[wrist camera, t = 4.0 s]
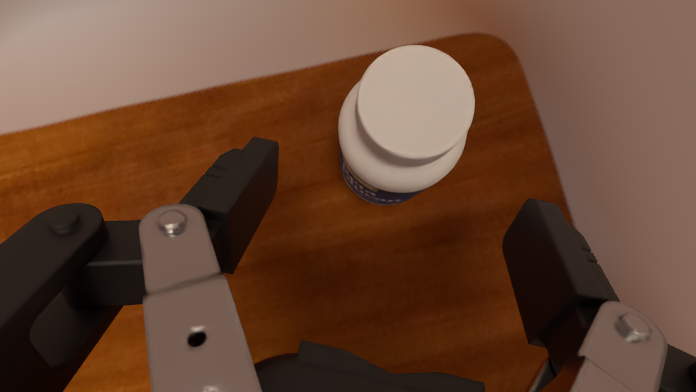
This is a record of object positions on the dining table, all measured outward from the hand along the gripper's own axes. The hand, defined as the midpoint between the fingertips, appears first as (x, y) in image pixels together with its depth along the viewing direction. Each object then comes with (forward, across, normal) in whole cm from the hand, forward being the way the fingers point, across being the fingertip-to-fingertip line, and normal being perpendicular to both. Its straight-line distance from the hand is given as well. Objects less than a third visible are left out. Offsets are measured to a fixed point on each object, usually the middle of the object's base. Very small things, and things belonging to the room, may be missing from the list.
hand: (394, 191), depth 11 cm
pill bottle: (+9, 0, +5) cm, 10 cm away
